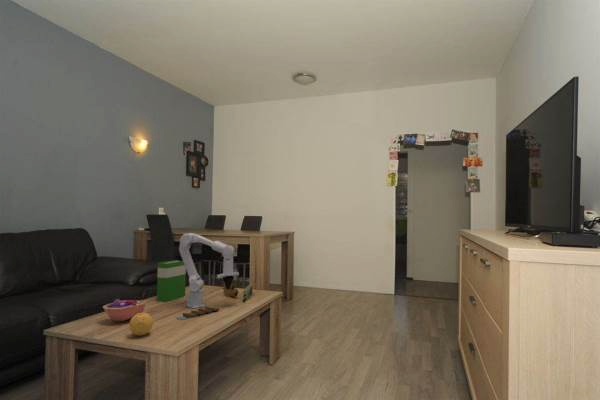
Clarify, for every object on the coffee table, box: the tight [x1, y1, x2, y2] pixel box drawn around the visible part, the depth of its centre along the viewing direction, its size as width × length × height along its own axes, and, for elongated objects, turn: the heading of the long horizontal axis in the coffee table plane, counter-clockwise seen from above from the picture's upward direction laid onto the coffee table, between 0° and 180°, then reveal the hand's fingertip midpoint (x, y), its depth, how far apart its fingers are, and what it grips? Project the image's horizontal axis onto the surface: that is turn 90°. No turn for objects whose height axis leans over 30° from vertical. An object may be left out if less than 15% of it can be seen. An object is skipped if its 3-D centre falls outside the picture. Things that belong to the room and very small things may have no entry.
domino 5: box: [204, 306, 220, 312], centre depth 198 cm, size 1×5×6 cm
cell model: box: [102, 298, 146, 322], centre depth 181 cm, size 17×20×11 cm
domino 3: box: [190, 309, 207, 316], centre depth 191 cm, size 1×5×6 cm
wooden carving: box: [222, 281, 239, 298], centre depth 234 cm, size 16×5×10 cm, turn 49°
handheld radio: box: [242, 284, 253, 303], centre depth 231 cm, size 7×3×25 cm
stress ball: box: [128, 311, 154, 337], centre depth 159 cm, size 10×10×10 cm
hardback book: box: [156, 259, 187, 303], centre depth 228 cm, size 18×7×24 cm, turn 158°
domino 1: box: [176, 315, 193, 321], centre depth 185 cm, size 1×5×6 cm
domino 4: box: [197, 307, 213, 314], centre depth 195 cm, size 1×5×6 cm
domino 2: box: [182, 312, 199, 318], centre depth 188 cm, size 1×5×6 cm
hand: (228, 288), depth 209 cm, fingers closed
